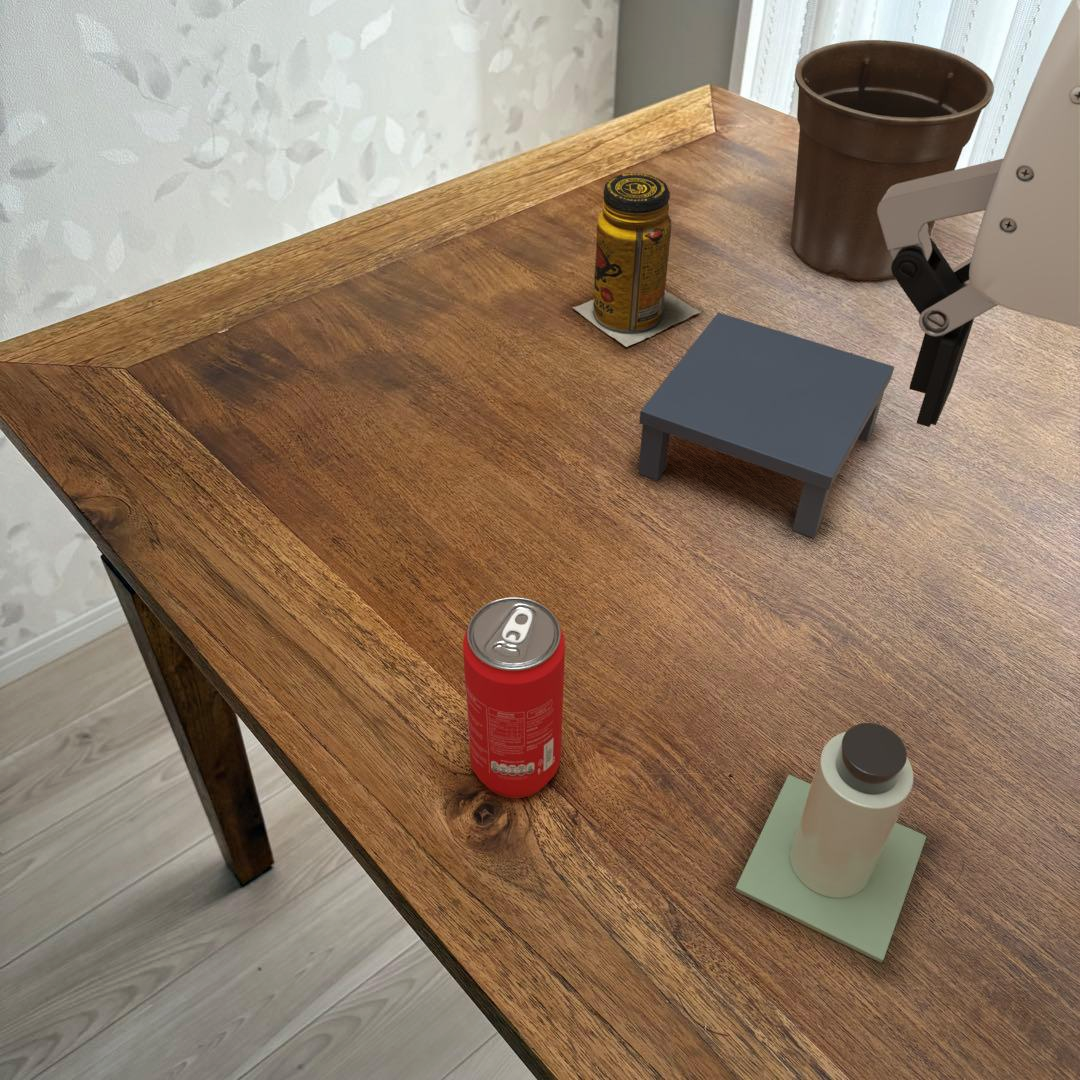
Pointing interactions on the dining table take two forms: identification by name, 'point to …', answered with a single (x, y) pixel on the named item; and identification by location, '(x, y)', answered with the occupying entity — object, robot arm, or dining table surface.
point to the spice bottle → (851, 810)
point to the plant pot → (874, 141)
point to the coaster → (844, 920)
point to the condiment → (633, 262)
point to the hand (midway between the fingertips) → (1058, 442)
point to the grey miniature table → (767, 406)
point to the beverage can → (514, 695)
